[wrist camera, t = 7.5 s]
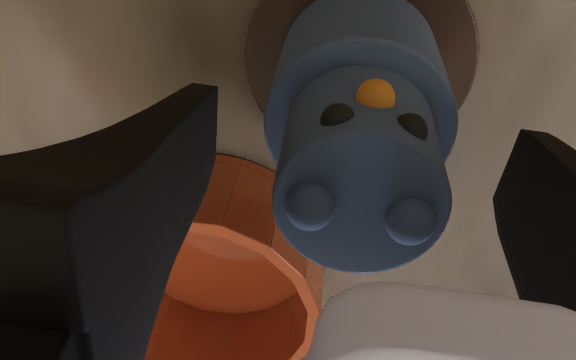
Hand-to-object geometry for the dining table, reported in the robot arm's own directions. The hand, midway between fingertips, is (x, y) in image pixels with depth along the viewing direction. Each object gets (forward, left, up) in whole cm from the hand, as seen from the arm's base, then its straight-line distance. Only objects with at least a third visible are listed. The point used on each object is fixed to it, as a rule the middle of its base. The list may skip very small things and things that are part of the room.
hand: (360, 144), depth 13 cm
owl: (0, 0, -5) cm, 5 cm away
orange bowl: (+1, +9, -5) cm, 11 cm away
